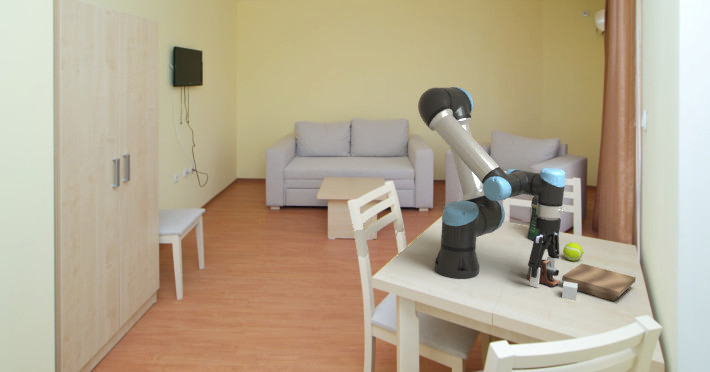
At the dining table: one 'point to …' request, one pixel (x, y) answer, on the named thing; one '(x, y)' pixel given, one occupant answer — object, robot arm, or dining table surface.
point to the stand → (599, 281)
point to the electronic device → (546, 273)
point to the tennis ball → (573, 251)
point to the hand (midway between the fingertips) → (541, 281)
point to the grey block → (569, 290)
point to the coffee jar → (533, 220)
